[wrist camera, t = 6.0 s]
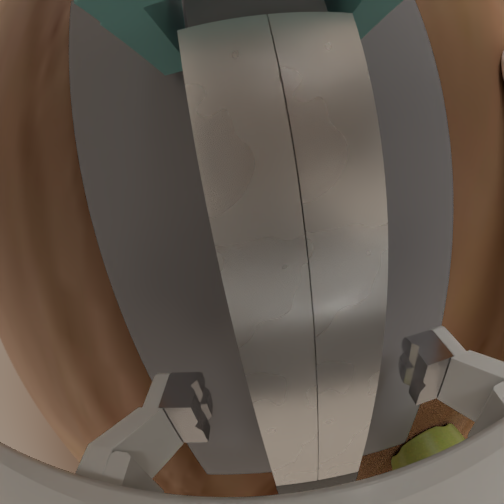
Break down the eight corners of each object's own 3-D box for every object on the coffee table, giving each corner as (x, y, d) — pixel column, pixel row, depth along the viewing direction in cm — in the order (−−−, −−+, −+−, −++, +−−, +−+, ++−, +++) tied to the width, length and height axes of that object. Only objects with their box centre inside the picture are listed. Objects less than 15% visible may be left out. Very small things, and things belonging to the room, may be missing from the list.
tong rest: (87, 12, 7) (30, -25, 3) (381, -29, 7) (423, -78, 2) (209, 457, 16) (203, 511, 11) (398, 427, 15) (418, 476, 11)
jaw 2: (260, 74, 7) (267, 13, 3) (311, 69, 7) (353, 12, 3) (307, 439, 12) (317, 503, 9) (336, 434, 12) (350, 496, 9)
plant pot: (471, 430, 17) (505, 491, 8) (388, 480, 18) (408, 547, 10) (464, 389, 14) (517, 473, 6) (355, 457, 16) (378, 551, 8)
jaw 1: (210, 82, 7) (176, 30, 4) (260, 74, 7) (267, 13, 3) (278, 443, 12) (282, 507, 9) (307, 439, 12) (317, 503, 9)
